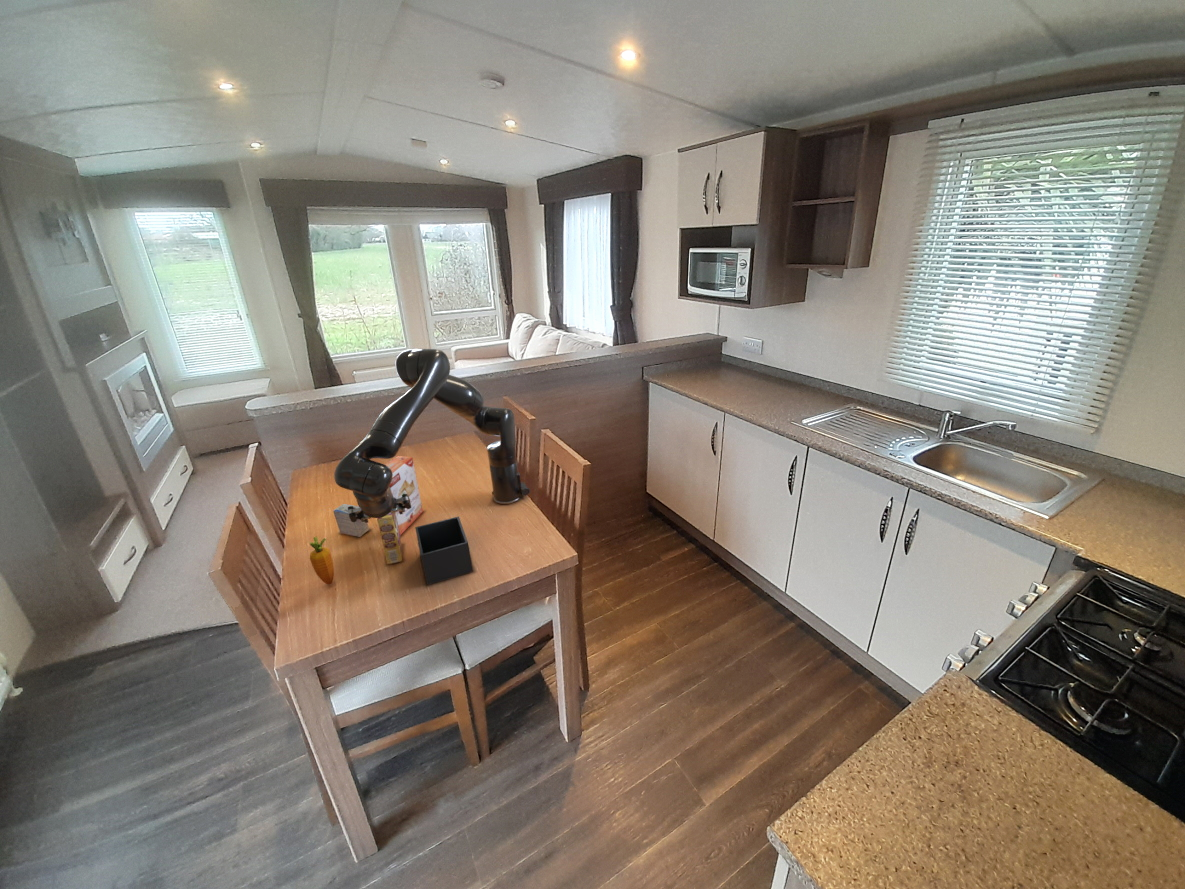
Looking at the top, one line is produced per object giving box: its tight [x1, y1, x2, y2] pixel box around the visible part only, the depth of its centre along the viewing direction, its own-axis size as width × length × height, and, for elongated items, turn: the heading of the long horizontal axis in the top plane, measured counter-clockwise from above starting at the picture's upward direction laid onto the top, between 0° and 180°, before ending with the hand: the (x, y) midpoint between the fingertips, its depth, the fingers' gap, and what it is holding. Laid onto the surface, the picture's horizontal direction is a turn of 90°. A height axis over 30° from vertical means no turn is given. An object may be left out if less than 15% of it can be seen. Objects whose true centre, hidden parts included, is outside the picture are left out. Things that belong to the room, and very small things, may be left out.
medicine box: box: [332, 503, 370, 538], centre depth 149 cm, size 8×4×9 cm, turn 71°
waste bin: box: [414, 515, 474, 586], centre depth 133 cm, size 12×14×10 cm
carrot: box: [309, 536, 335, 586], centre depth 125 cm, size 5×5×15 cm
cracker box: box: [385, 455, 424, 536], centre depth 150 cm, size 14×6×21 cm, turn 168°
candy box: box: [376, 513, 403, 565], centre depth 136 cm, size 9×4×15 cm, turn 20°
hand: (383, 514), depth 126 cm, fingers open, 8 cm apart
